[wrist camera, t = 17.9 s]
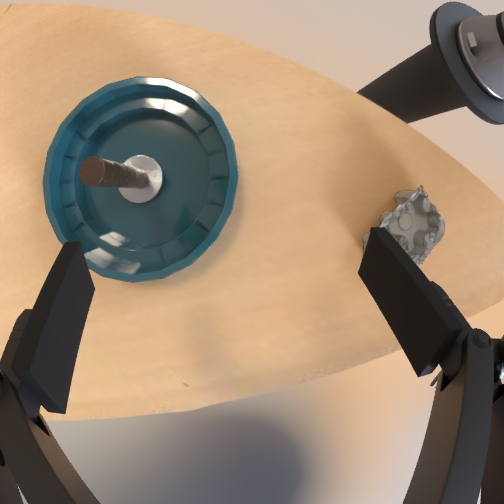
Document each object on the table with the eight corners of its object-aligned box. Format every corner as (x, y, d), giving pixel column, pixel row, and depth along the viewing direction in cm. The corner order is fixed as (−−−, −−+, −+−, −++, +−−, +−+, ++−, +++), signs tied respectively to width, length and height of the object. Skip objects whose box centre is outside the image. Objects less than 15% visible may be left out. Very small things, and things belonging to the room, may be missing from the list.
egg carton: (404, 180, 35) (423, 180, 31) (435, 223, 36) (455, 226, 32) (351, 243, 35) (366, 248, 31) (387, 283, 37) (404, 292, 33)
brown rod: (173, 168, 31) (140, 151, 18) (151, 210, 32) (105, 222, 18) (134, 149, 31) (80, 122, 17) (113, 190, 31) (49, 190, 17)
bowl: (267, 141, 32) (276, 131, 27) (183, 298, 35) (177, 316, 29) (117, 70, 29) (102, 53, 24) (44, 220, 31) (19, 225, 26)
